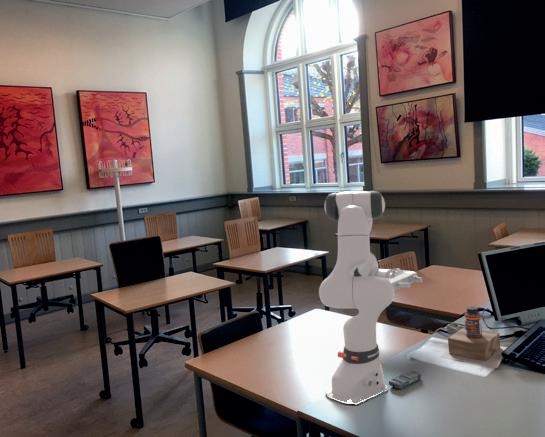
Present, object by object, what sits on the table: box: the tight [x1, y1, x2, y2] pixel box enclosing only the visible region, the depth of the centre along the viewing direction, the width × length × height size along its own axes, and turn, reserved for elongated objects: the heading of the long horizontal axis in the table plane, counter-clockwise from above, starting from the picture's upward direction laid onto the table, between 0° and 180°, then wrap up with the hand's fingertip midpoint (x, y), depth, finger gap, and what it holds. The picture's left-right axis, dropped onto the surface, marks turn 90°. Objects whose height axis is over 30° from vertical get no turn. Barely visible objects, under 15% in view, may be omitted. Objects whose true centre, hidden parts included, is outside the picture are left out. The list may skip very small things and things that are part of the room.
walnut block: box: [447, 326, 501, 362], centre depth 190 cm, size 14×14×6 cm
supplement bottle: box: [464, 305, 483, 338], centre depth 189 cm, size 6×6×11 cm
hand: (415, 282), depth 199 cm, fingers open, 8 cm apart
